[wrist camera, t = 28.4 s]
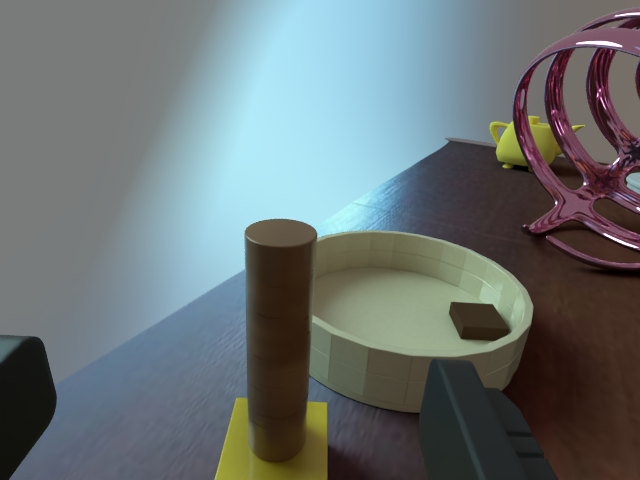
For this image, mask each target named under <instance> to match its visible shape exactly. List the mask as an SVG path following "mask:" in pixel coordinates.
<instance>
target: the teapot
mask: <svg viewBox="0 0 640 480" xmlns="http://www.w3.org/2000/svg"><path fill="white" fill-rule="evenodd" d="M528 118H529V124H530V128H531V131H532V134H533V137H534V140H535V142H536V145H537V147H538V149H539V151H540V153H541V155H542V157H543V158H544V160H545V162H546V163H547V165H548V166H549V165H550V164H551V163H552V161H553V160H554V158H555V156H558V155H560V154H562V153H563V152H562V150H561V149H560V147H559V145H558V144H557V143H556V140H555V138H554V135H553V133H552V131H551V128H550V125H549V124H543V123H538V122H539V120H540V117H537V116H528ZM499 126H501V127H506V128H507V129H506V130H505V132H504V133H503V135H502V137H501V139H500V140H499V138H498V134H497V127H499ZM584 126H586V125H579V126H573V127H572V129H573V131H574V133H575V132H576V131H577V130H578V129H580V128H582V127H584ZM490 132H491V135H492V137H493V139H494V140H495V142H496V144H497V150H496V154H497V158H498V160H499V161H502V162H506V163H505V164H504V165H503V166H502V167H504V168H513V167H514V165H515V164H516V165H522V166H528V164H527V162H526V160H525V158H524V156H523V154H522V152H521V149H520V147H519V144H518V141H517V138H516V134H515V130H514V124H513V121H512V122H511V123H510V124H506V123H502V122H492V123H491V124H490ZM528 171H530V172H532V171H531V169H530V167H529V166H528Z"/></svg>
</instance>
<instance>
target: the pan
mask: <svg viewBox="0 0 640 480" xmlns="http://www.w3.org/2000/svg"><path fill="white" fill-rule="evenodd" d="M451 302H465V303H483V304H493V305H494V306H495V308H496V309H497V311H498V312H499V314H500V316H501V317H502V319H503V320H504V322H505V323H506V325H507V326H508V328H509V333H508V335H507V336H505V337H503V338H500V339H498V340H496V341H490V340H473V339H461V338H460V336H459V334H458V332H457V330H456V328H455V326H454V324H453V321H452V319H451V317H450V315H449V309H450V304H451ZM533 309H534V306H533V304H532V302H531V299H530V297H529V294H528V292H527V290H526V289H525V288H524V286H523V285H522V284H521V283H520V282H519V281H518V280H517V279H516V278H515V277H514V276H513V275H512V274H511V273H510V272H508V271H507V270H506V269H504V268H503V267H501V266H500V265H498V264H497V263H496V262H494V261H492V260H490V259H488V258H486V257H484V256H482V255H480V254H478V253H476V252H474V251H472V250H470V249H467V248H464V247H461V246H459V245H456V244H453V243H450V242H447V241H444V240H440V239H435V238H431V237H427V236H423V235H418V234H411V233H404V232H397V231H377V230H365V231H349V232H342V233H336V234H331V235H326V236H322V237H320V238H317V249H316V266H315V283H314V301H313V318H312V335H311V353H310V370H309V375H310V376H311V377H313V378H314V379H315V380H317V381H318V382H320V383H322V384H323V385H325V386H326V387H328V388H330V389H332V390H334V391H336V392H338V393H340V394H342V395H344V396H346V397H349V398H351V399H354V400H357V401H359V402H362V403H365V404H369V405H372V406H376V407H380V408H384V409H390V410H396V411H401V412H413V413H420V409H421V404H422V399H423V394H424V389H425V384H426V380H427V375H428V370H429V365H430V363H431V361H432V360H433V359H448V360H467V361H471V362H472V363H473V365H474V367H475V369H476V371H477V373H478V375H479V377H480V379H481V381H482V383H483V385H484V387H485V388H498V389H499V390H500V391H502V390H503V389H504V388H505V387H506V386H507V385H508V384H509V382H510V381H511V379H512V378H513V376H514V374H515V371H516V370H517V368H518V365H519V362H520V359H521V356H522V352H523V349H524V346H525V343H526V339H527V336H528V333H529V330H530V327H531V322H532V316H533Z"/></svg>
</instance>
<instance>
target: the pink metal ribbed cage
mask: <svg viewBox="0 0 640 480" xmlns="http://www.w3.org/2000/svg"><path fill="white" fill-rule="evenodd" d="M625 19H626V20H625ZM619 20H624V21H623V22H621V23H620V24H618V25H617V26H616V27H614V28H600V27H602V26H604V25H606V24H609V23H612V22H614V21H619ZM638 29H640V7H634V8H629V9H624V10H620V11H616V12H613V13H610V14H607V15H604V16H602V17H600V18H597V19H595V20H593V21H591V22H590V23H588V24H586V25H584V26H583V27H581V28H580V29H578V30H577V31H576V32H574V33H573V34H572V35H569V36H566V37H564V38H562V39H560V40H558V41H556V42H555V43H553V44H551V45H550V46H549V47H548V48H546V49H545V50H543V51H542V52H541V53H540V54H539V55H538V56H536V57H535V59H534V60H533V61H532V62H531V63H530V64H529V65H528V66H527V68H526V69H525V71H524V73H523V74H522V75H521V77H520V79H519V81H518V84H517V87H516V90H515V93H514V98H513V110H512V112H513V124H514V130H515V134H516V138H517V141H518V144H519V147H520V149H521V152H522V154H523V156H524V158H525V160H526V162H527V164H528V166H529V167H530V169H531V171H532V172H533V174H534V175H535V177H536V178H537V180H538V181H539V182H540V184H541V185H542V186H543V188H544V189H545V190H546V191H547V192H548V193H549V195H550V196H551V197H552V199H553V200H554V202H555V206H554V208H553V209H552V210H551V211H550V212H548V213H547V214H545V215H544V216H542V217H541V218H539V219H538V220H536V221H535V222H533V223H531V224H530V225H527V224H524V225H523V226H522V227H521V232H522V233H523V234H525V235H528V236H537V235H541V234H544V233H546V232H548V231H551V230H553V229H554V228H556V227H558V226H560V225H561V224H563V223H565V222H567V221H571V220H573V221H577V222H580V223H581V224H583V225H585V226H586V227H588V228H589V229H591V230H593V231H594V232H596V233H598V234H599V235H601V236H603V237H605V238H607V239H609V240H611V241H613V242H615V243H617V244H620V245H622V246H625V247H627V248H630V249H633V250H636V251H640V235H639V234H636V233H633V232H631V231H628V230H626V229H624V228H622V227H619V226H617V225H615V224H614V223H612V222H610V221H608V220H606V219H605V218H603V217H601V216H600V215H598V214H597V213H596V212H595V211H594V210H593V208H592V205H593V203H594V202H595V201H597V200H599V199H603V198H604V199H609V200H611V201H613V202H615V203H617V204H619V205H620V206H622V207H624V208H626V209H628V210H630V211H632V212H634V213H636V214H638V215H640V194H639V193H637V192H635V191H633V190H631V189H630V188H628V187H627V186H626V185H625V184H624V181H623V180H624V177H625V176H626V175H627V174H628V173H629V172H631V171H633V170H636V169H639V170H640V138H639V137H636V136H634V135H633V134H632V133H630V131H629V130H628V129H627V128H626V127H625V126H624V124H623V122H622V121H621V119H620V118H619V116H618V114H617V113H616V111H615V108H614V106H613V104H612V100H611V97H610V92H609V71H610V67H611V63H612V60H613V58H614V56H615V54H616V52H617V51H621V52H625V53H628V54H631V55H635V56H637V57H640V30H638ZM586 47H594V48H596V49H595V51H594V53H593V55H592V57H591V60H590V63H589V66H588V70H587V76H586V92H587V99H588V104H589V107H590V110H591V113H592V115H593V118H594V120H595V122H596V124H597V126H598V127H599V129H600V130H601V132H602V133H603V135H604V136H605V138H606V139H607V140H608V141H609V142H610V144H611V145H612V146H613V147H614V148H615V149H616V151H617V153H618V156H617V159H616V160H615V161H614V162H613V163H612V164H610V165H608V166H601V165H599V164H598V163H596V162H595V161H594V160H593V159H592V157H591V156H590V155H589V154H588V153H587V151H586V150H585V149H584V148H583V146H582V144H581V143H580V141H579V140H578V138H577V137H576V135H575V133H574V131H573V129H572V127H571V124H570V122H569V119H568V116H567V113H566V109H565V104H564V95H563V85H564V77H565V72H566V68H567V65H568V63H569V60H570V58H571V56H572V54H573V52H574V51H575V49H576V48H586ZM554 54H555V55H554ZM551 55H554V57H553V59H552V61H551V63H550V66H549V68H548V72H547V75H546V80H545V87H544V102H545V109H546V114H547V119H548V122H549V125H550V128H551V131H552V133H553V135H554V138H555V140H556V142H557V144H558V145H559V147H560V149H561V150H562V152H563V154H564V155H565V156H566V158H567V159H568V161H569V162H570V163H571V164H572V166H573V167H574V168H575V169H576V170H577V171H578V173H579V174H580V175H581V177H582V178H583V181H584V183H583V186H582V187H581V188H580V189H578V190H575V191H572V190H569V189H568V188H566V187H565V186H564V185H563V184H562V183H561V182H560V181H559V179H558V178H557V177H556V176H555V175H554V173H553V172H552V171H551V169H550V168H549V166H548V165H547V163H546V162H545V160H544V158H543V157H542V155H541V153H540V151H539V149H538V147H537V145H536V142H535V140H534V137H533V134H532V131H531V128H530V124H529V118H528V110H527V97H528V91H529V86H530V82H531V79H532V77H533V75H534V73H535V71H536V69H537V68H538V66H539V65H540V64H541V63H542V62H543V61H544V60H545V59H546V58H548V57H549V56H551ZM635 83H636V90H637V93H638V97H639V99H640V59H639V61H638V64H637V68H636V73H635ZM546 240H547V241H548V242H549V243H550V244H551V245H552V246H553V247H554V248H556V249H557V250H559V251H560V252H562V253H563V254H565V255H567V256H569V257H570V258H572V259H574V260H577V261H579V262H581V263H584V264H587V265H590V266H593V267H597V268H601V269H606V270H612V271H627V272H631V271H640V263H616V262H609V261H604V260H600V259H597V258H593V257H590V256H588V255H585V254H583V253H580V252H578V251H576V250H574V249H572V248H570V247H569V246H567V245H565V244H564V243H562V242H561V241H559V240H557V239H556V238H554V237H552V236H546Z"/></svg>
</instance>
